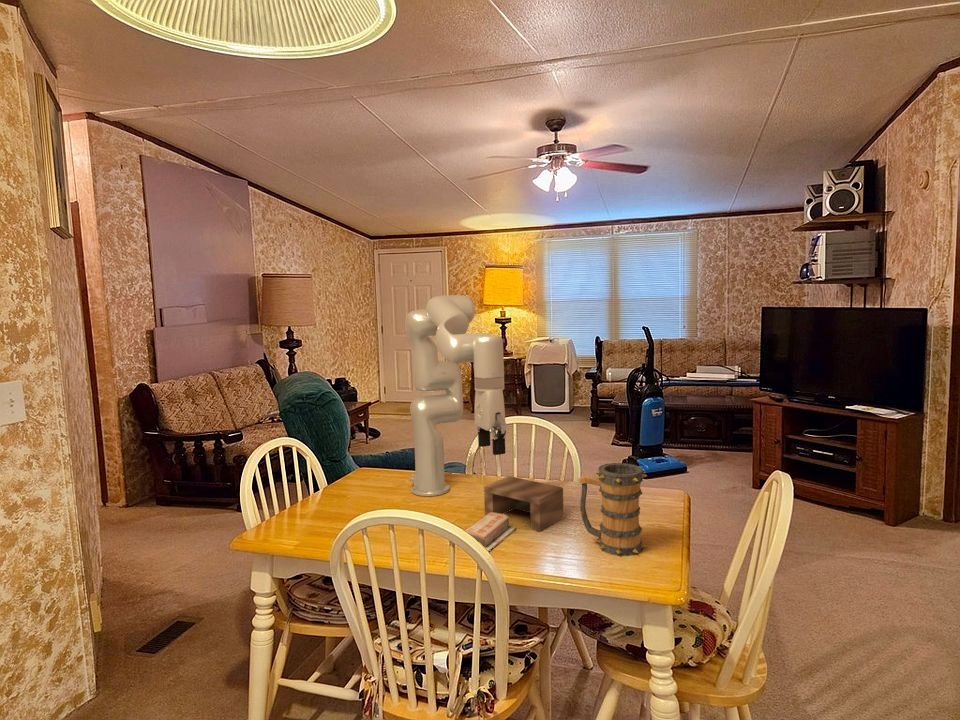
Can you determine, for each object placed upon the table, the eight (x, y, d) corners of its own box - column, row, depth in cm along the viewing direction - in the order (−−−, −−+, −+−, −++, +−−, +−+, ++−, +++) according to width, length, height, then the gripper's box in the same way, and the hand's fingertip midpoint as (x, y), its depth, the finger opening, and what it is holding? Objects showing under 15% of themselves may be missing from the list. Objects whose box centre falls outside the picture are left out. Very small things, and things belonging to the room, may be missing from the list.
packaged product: (483, 508, 164) (516, 514, 159) (484, 525, 164) (516, 531, 159) (450, 531, 148) (485, 538, 143) (450, 550, 148) (485, 557, 144)
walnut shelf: (484, 516, 169) (484, 486, 168) (509, 504, 178) (508, 476, 178) (540, 531, 157) (539, 499, 156) (563, 518, 166) (563, 487, 166)
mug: (646, 560, 138) (646, 478, 136) (573, 553, 144) (572, 473, 142) (648, 539, 151) (648, 463, 149) (580, 532, 156) (580, 459, 154)
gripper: (463, 381, 155) (466, 445, 157) (488, 388, 139) (490, 459, 141) (490, 379, 158) (492, 441, 159) (517, 386, 142) (519, 455, 143)
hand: (491, 450), depth 150 cm, fingers open, 9 cm apart
